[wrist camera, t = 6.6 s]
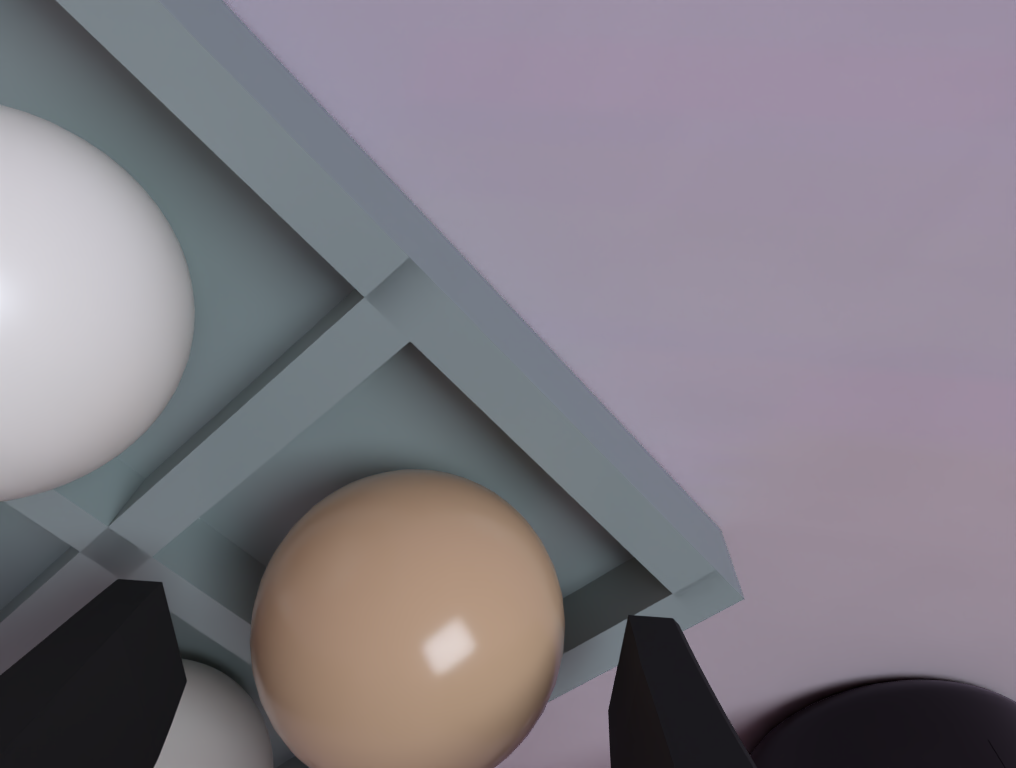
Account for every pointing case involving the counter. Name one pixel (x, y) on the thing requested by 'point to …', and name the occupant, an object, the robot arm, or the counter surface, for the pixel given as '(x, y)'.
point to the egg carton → (265, 361)
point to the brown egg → (407, 626)
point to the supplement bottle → (897, 729)
